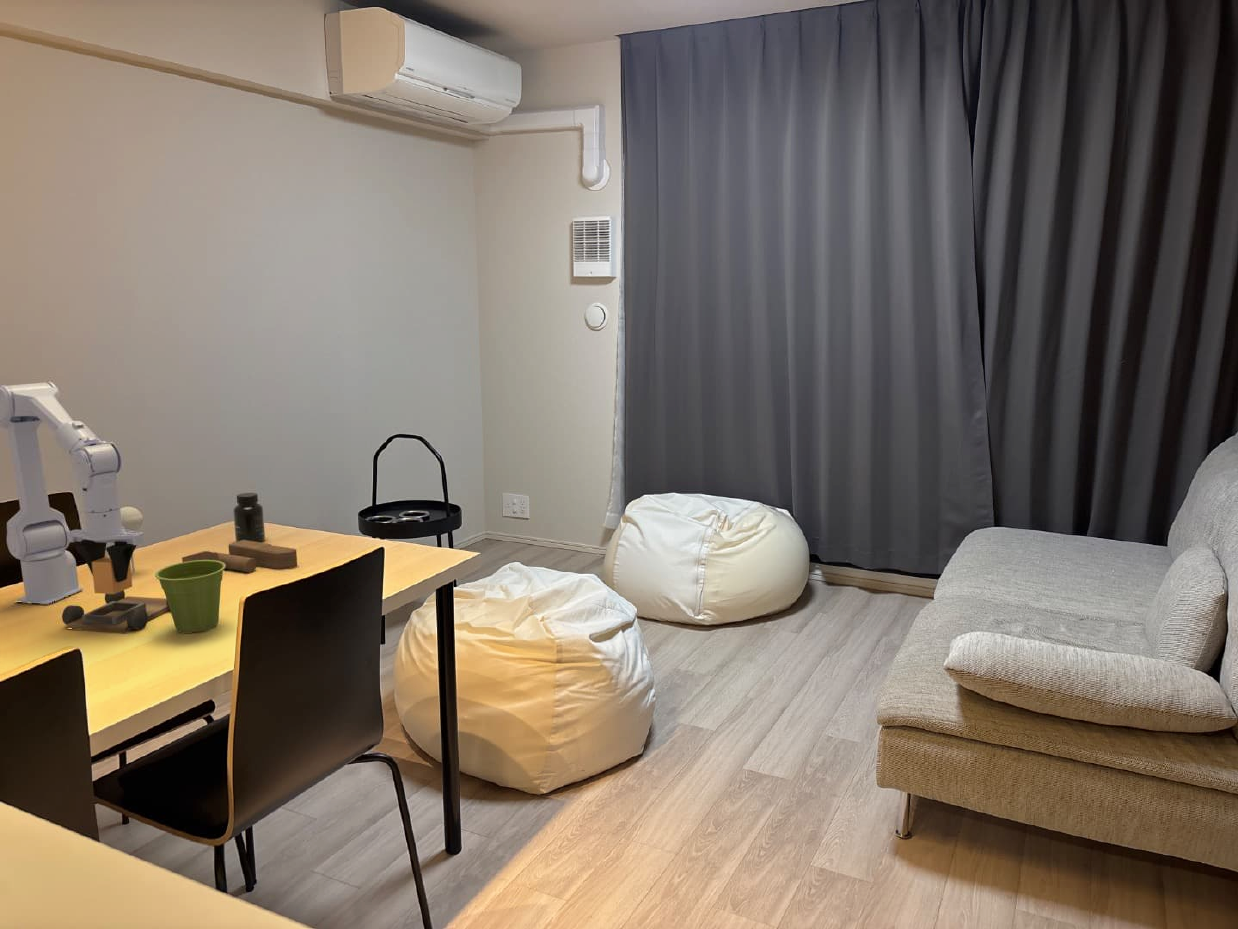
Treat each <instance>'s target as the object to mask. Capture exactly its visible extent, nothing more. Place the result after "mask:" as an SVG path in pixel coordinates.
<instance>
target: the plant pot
mask: <svg viewBox="0 0 1238 929" xmlns="http://www.w3.org/2000/svg"><path fill="white" fill-rule="evenodd" d="M225 567H226V565H225V563H223V562H221V561H216V560H195V561H188V562H182V561H181V562H177V563H173V564H170V565H168V566H165V567H163V568H160V569H158V570H157V571H156V572H155V574H154V576H155V578H156V579H158V580H159V583H160V586H161V589H162V591H163V592H164V596H165V599H167V602H168V605H169V608H170V610H169V611H170V616H171V618H172V621H173V625H174V627H175V630H176V631H177V632H179V633H182V634H183V633H184V634H192V633H194V632H199V633H200V632H203V633H204V632H207V631H209V630H211V629H214V628H215V627H216V626H217V625H218V624H219V620H220V606H221V605H220V604H221V602H220V601H221V588H222V580H223V575H224V574H223V573H224V572H223V571H224V570H226V568H225Z"/></svg>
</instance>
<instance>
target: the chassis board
mask: <svg viewBox="0 0 1238 929" xmlns="http://www.w3.org/2000/svg"><path fill="white" fill-rule="evenodd" d="M104 602H105V603H106V604H103V605H102V606H99V607H97V608H96V609H93V610H91V611H89V612H87V613H85V611H84V609H83V607H82V606H81V605H71V604H70V605H67V606H66V607H65V608H64V609H63V611H62V614H61V620H62V622H63V623H64V624H65V625H66V626H67V629H68V628H72V629H81V630H80V631H83V630H88V631H87V632H100V633H102V632H103V633H113V632H118V633H117V634H126V632H127V633H129V632H131V631H133V630H143V629H144V628H145V627H146V626H147V624H148V622H150V621H152V620H154V619H156V618H157V617H159V616H162V615H164V614H165V613H167V612H169V611H170V608H169V605H168V602H167V599H166V597H165V598H162V597H147V596H146V597H145V596H129V595H127V596H126V593H125V590H123V591H120V592H118V593H115V594H104Z"/></svg>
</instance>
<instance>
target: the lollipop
mask: <svg viewBox="0 0 1238 929" xmlns="http://www.w3.org/2000/svg"><path fill="white" fill-rule="evenodd" d="M120 511H121V520H122V527H124V529H125V530H129V531H134V532H138V531H139V530H140V528H142V525H143V523H144V516H143V514H142V513H141V512H140V510H138V509H137V508H135V507H132V506H124V507H120ZM130 564H131V573H132V574H135V573H136V571H135V569H136V568H135V561H134V553H133V554H132V557H131V560H130Z"/></svg>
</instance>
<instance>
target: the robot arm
mask: <svg viewBox="0 0 1238 929" xmlns="http://www.w3.org/2000/svg"><path fill="white" fill-rule="evenodd" d="M43 423H44V424H45V425H46V426H48V428H50V429H51V430H52V431H54V432H55V436H54V439H55V442H56V444H57V445H58V447H60V448H61V449H62V450H63V452H65V453H66V454H67V456H69V457H70V459H71V460H72V461H71V465H72V467H73V470H74V473H75V475H76V478H77V484H78V486H79V487H80V488H81V490H82V496H83V506H84V508H83V509H84V515H85V523H86V529H73V530H70V528H69V527H68V524H67V522H66V517H65V514H64V513H62V512H60V511H59V510H57V509H54V508H53V507H50V503H49V496H48V491H47V484H46V479H45V472H44V467H43V466H44V465H43V461H42V455H41V450H40V449H41V448H40V444H39V438H38V429H39V428H40V426H41V425H42V424H43ZM0 428H3V429H5V431H6V434H7V440H8V446H9V451H10V452H9V453H10V456H11V463H12V467H13V468H12V469H13V473H14V479H15V485H16V490H17V496H18V497H17V498H18V502H19V510H18V511H17V513H15V514H14V515H13V516H12V517H11V518H10V519H9V520H8V521H7V522H6V544H7V548H8V549H7V550H8V552H9V553H10V554H11V556H13V557H14V558H15V559H17V560H20V568H21V576H22V582H23V590H24V595H23V596H22V597H20V598H16V599H14V602H15V601H21V602H30V603H29V604H32V603H40V604H39V605H50V604H49V603H51V604H53V603H55V602H58V601H60V600H63V599H65V598H67V597H70V596H71V595H74V594H76V593H79V592H81V591H83V590H84V588H83V587H80V585H79V578H78V570H77V562H76V558H75V557H74V555H73V554H72V553H71V552H70V551H69V550H66V549H68V547H69V545H70V543H75V542H80V544H79V545H77V546H75V548H76V552H78V554H79V555H80V556H81V557H82V559H83V560H84V562H85V563H86V565H87V567H88V568H89V570H90V573H91V575H92V576H93V570H92V562H93V561H95V560H98V559H101V558H104V557H106V553H107V554H108V556H110V558H111V561H112V564H113V570H114V576H115V579H116V582H121V581H123V580H126V579H127V574H128V568H129V563H130V564H131V557H132V554H133V555H134V552H135V550H136V548H137V546H140V545H141V544H144V543H145V534H144V532H142V531H136V532H134V531H129V530H125V529H124V527H122V520H121V511H120V509H121V504H120V495H119V485H118V478H117V477H118V476H117V474H118V473H119V472H120V471H121V469H122V466H123V460H122V454H121V451H120V450H119V448H118V447H117V446H116V444H115V443H114V442H112V441H108V442H107V441H106V440H101V439H99V437H98V436H97V435H96V434H95V433H94V432H93V431H92V430H91V429H90V428H89V427H88V426H87V425H86V424H85V423H84V422H83V421H79V420H73V418H72V417H71V416H70V414H69V413H68V412H67V411H66V409H65V408H64V407H63V406H62V398H61V393H60V390H59V388H58V387H57V386H56V385H55V384H54V383H53V382H52V381H45V382H36V383H24V384H13V385H4V384H3V385H0ZM107 543H109V544H113V545H110V546H107ZM69 595H70V596H69ZM64 597H65V598H64ZM54 601H55V602H54ZM52 602H53V603H52Z"/></svg>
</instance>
